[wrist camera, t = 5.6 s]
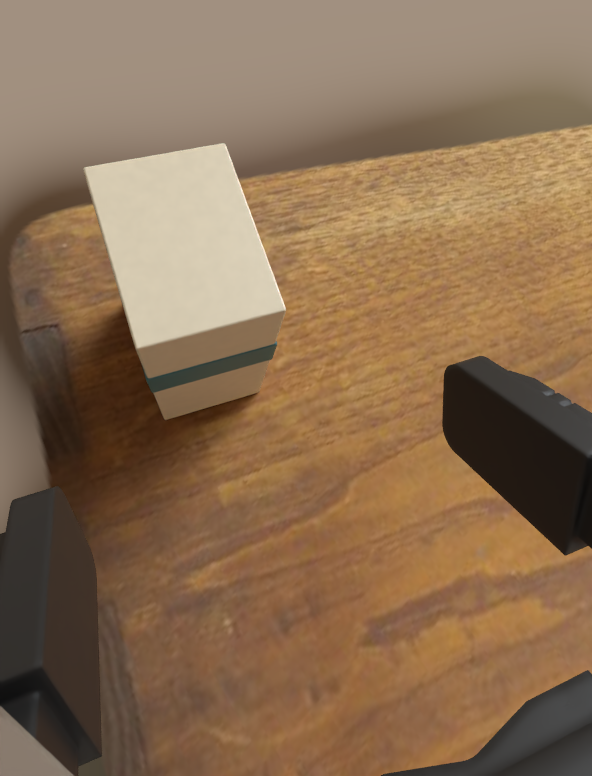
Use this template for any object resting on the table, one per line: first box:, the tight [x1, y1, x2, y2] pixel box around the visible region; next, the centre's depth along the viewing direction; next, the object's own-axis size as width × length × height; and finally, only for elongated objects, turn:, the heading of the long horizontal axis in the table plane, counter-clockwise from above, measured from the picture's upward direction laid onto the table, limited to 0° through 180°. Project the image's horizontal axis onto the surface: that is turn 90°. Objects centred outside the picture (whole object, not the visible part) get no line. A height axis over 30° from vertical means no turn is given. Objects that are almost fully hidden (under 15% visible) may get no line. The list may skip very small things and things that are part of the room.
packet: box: [83, 144, 286, 420], centre depth 19 cm, size 4×6×9 cm
